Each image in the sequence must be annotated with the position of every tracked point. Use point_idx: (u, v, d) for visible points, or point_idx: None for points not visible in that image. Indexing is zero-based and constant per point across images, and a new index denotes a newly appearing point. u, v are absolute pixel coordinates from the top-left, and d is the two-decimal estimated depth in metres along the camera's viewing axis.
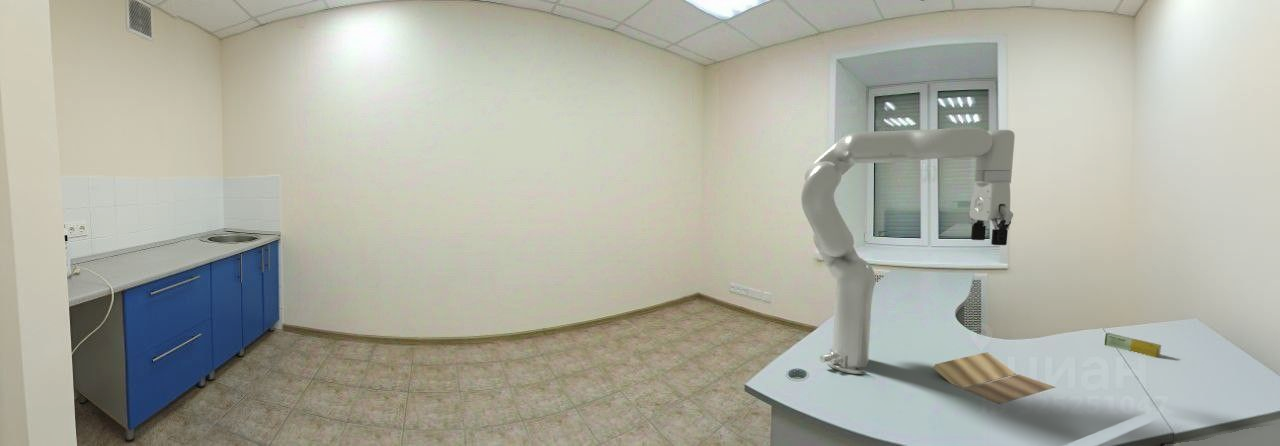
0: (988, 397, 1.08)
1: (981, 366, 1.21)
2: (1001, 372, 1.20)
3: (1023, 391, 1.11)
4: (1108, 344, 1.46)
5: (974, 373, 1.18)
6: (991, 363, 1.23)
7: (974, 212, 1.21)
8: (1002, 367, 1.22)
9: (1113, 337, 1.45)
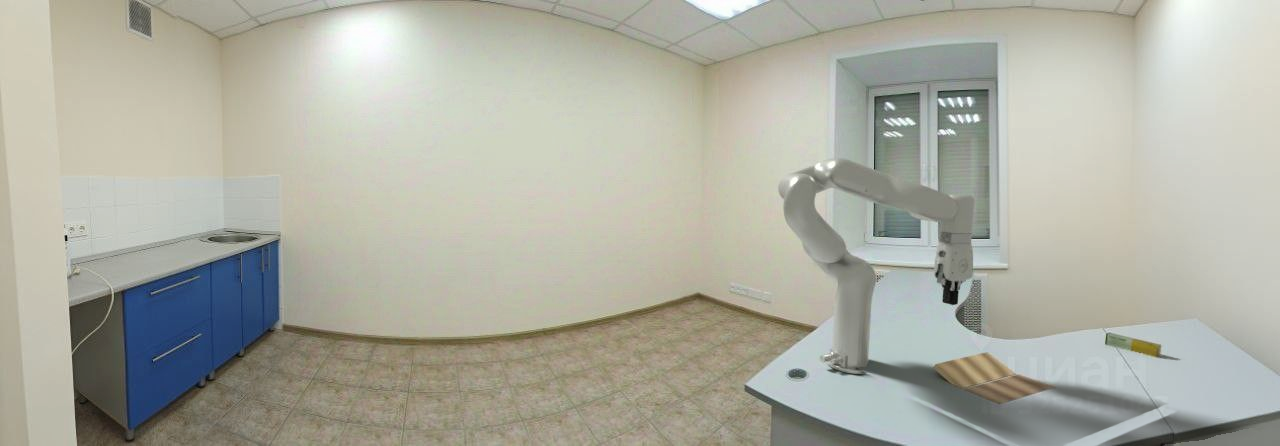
0: (988, 397, 1.08)
1: (981, 366, 1.21)
2: (1001, 372, 1.20)
3: (1023, 391, 1.11)
4: (1108, 344, 1.46)
5: (974, 373, 1.18)
6: (991, 363, 1.23)
7: (958, 274, 1.21)
8: (1002, 367, 1.22)
9: (1113, 337, 1.45)
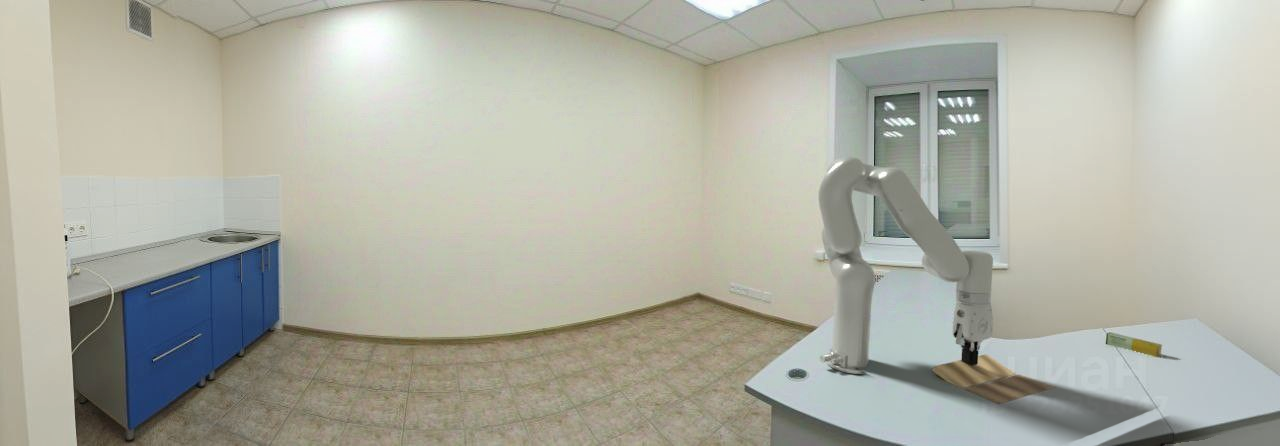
0: (988, 397, 1.08)
1: (980, 368, 1.21)
2: (1001, 372, 1.20)
3: (1023, 391, 1.11)
4: (1109, 343, 1.46)
5: (973, 374, 1.18)
6: (990, 364, 1.23)
7: (977, 335, 1.18)
8: (1002, 368, 1.22)
9: (1114, 336, 1.45)
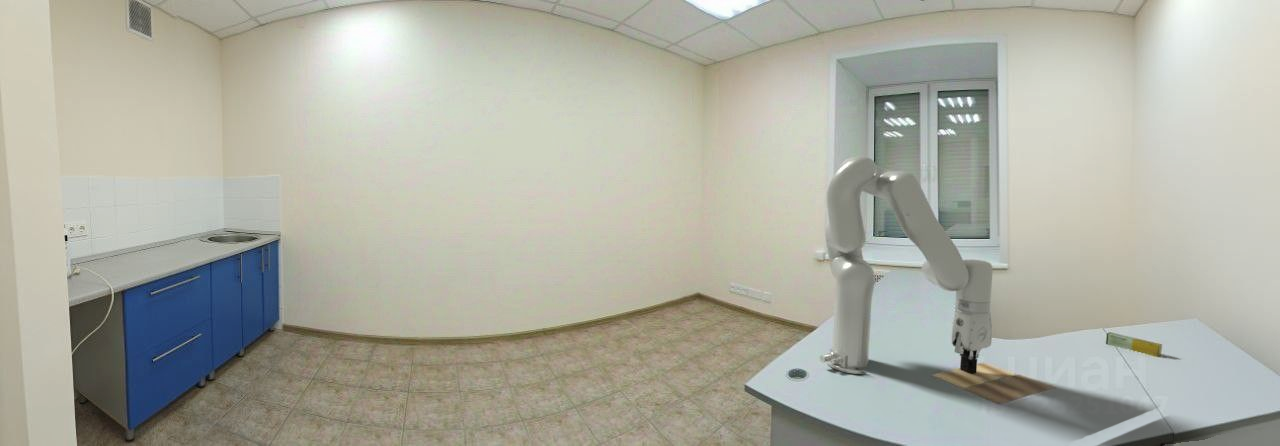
0: (988, 397, 1.08)
1: (979, 372, 1.21)
2: (1000, 374, 1.20)
3: (1023, 391, 1.11)
4: (1109, 343, 1.47)
5: (973, 377, 1.18)
6: (988, 369, 1.23)
7: (976, 343, 1.18)
8: (1001, 371, 1.23)
9: (1114, 336, 1.45)
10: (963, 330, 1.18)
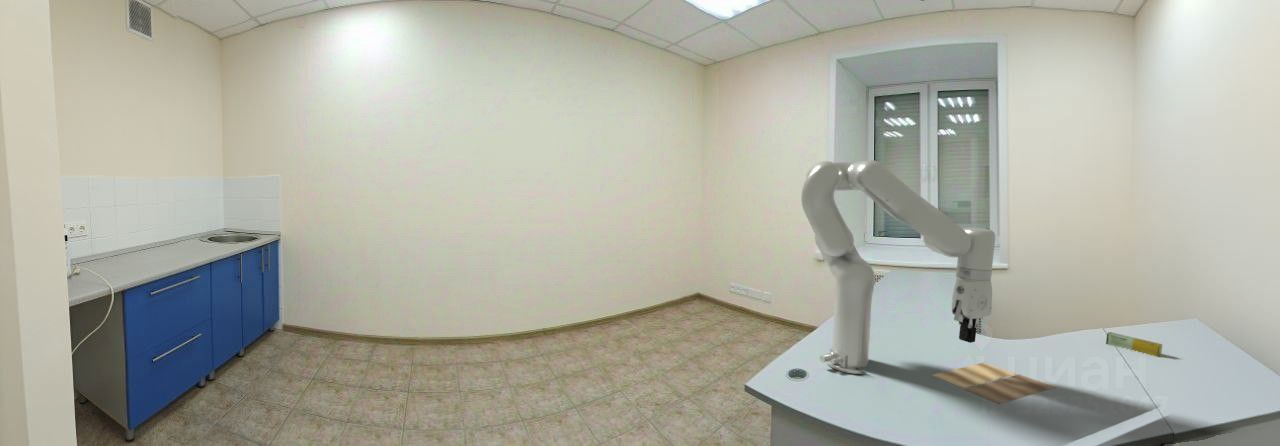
0: (988, 397, 1.08)
1: (979, 372, 1.21)
2: (1000, 374, 1.20)
3: (1023, 391, 1.11)
4: (1109, 343, 1.47)
5: (973, 377, 1.18)
6: (988, 369, 1.23)
7: (976, 311, 1.17)
8: (1001, 371, 1.23)
9: (1114, 336, 1.45)
10: (963, 297, 1.17)
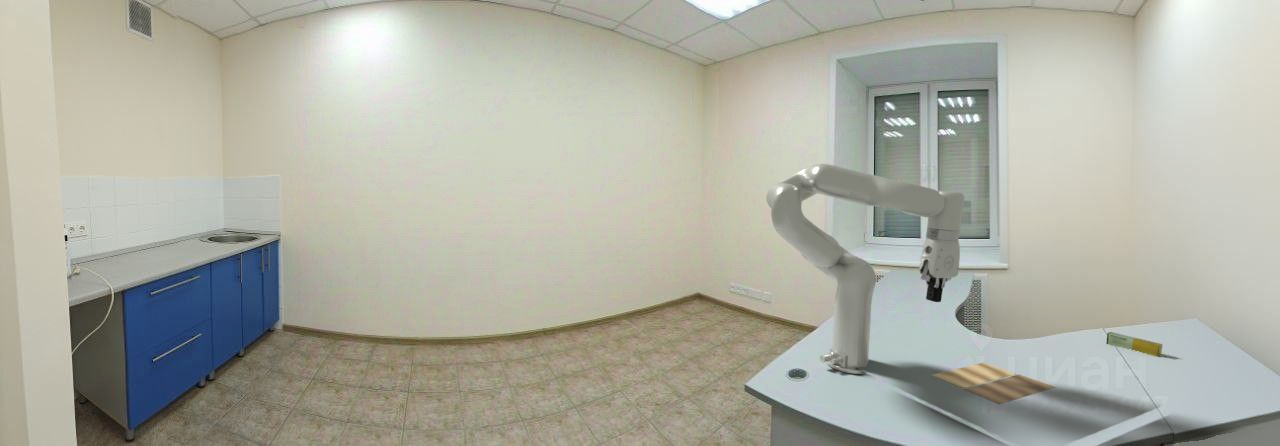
0: (988, 397, 1.08)
1: (979, 372, 1.21)
2: (1000, 374, 1.20)
3: (1023, 391, 1.11)
4: (1110, 343, 1.47)
5: (973, 377, 1.18)
6: (988, 369, 1.23)
7: (943, 271, 1.21)
8: (1001, 371, 1.23)
9: (1115, 336, 1.46)
10: (930, 257, 1.21)
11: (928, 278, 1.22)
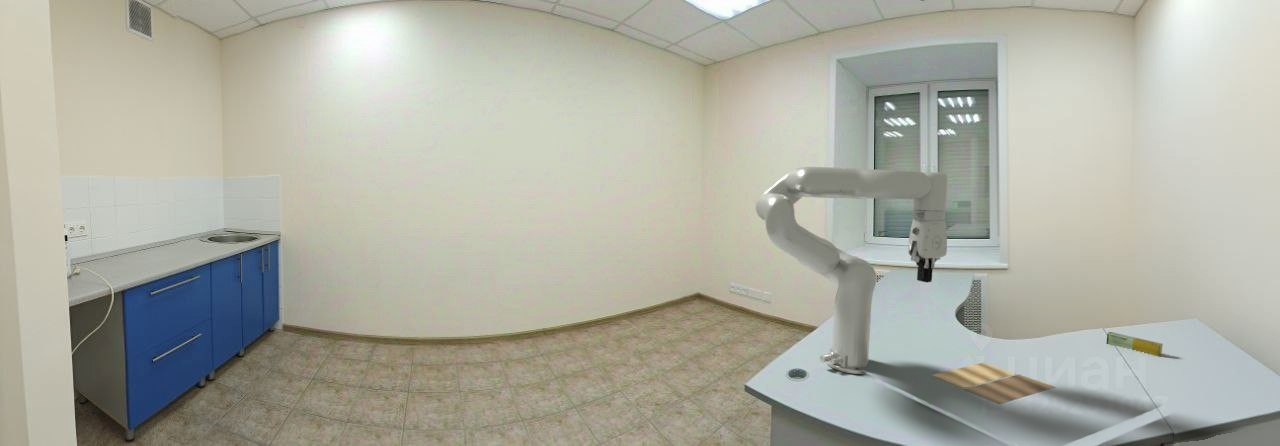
0: (988, 397, 1.08)
1: (979, 372, 1.21)
2: (1000, 374, 1.20)
3: (1023, 391, 1.11)
4: (1110, 343, 1.47)
5: (973, 377, 1.18)
6: (988, 369, 1.23)
7: (931, 251, 1.22)
8: (1001, 371, 1.23)
9: (1115, 336, 1.46)
10: (918, 238, 1.22)
11: (917, 259, 1.24)
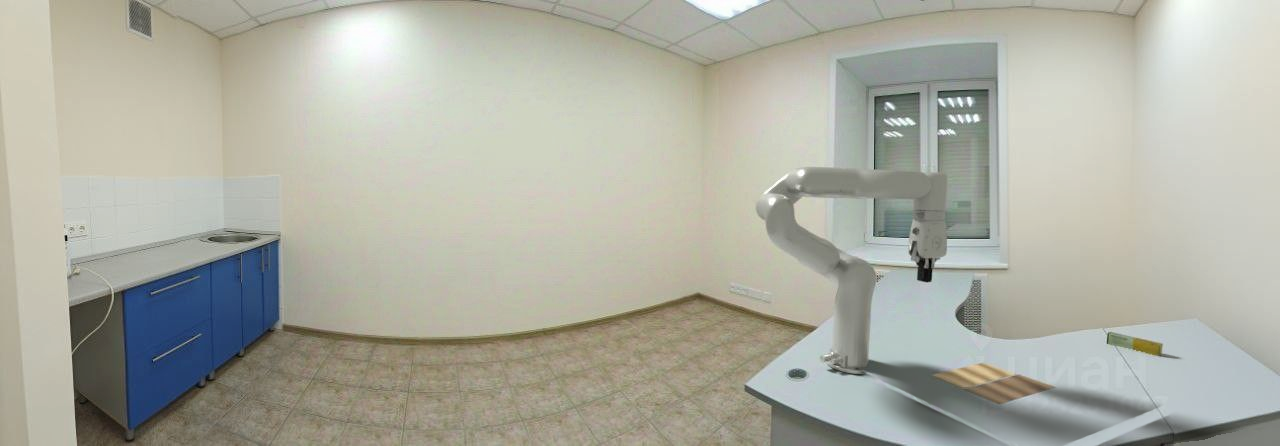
0: (988, 397, 1.08)
1: (979, 372, 1.21)
2: (1000, 374, 1.20)
3: (1023, 391, 1.11)
4: (1110, 343, 1.47)
5: (973, 377, 1.18)
6: (988, 369, 1.23)
7: (931, 251, 1.22)
8: (1001, 371, 1.23)
9: (1115, 336, 1.46)
10: (918, 238, 1.22)
11: (917, 259, 1.24)
